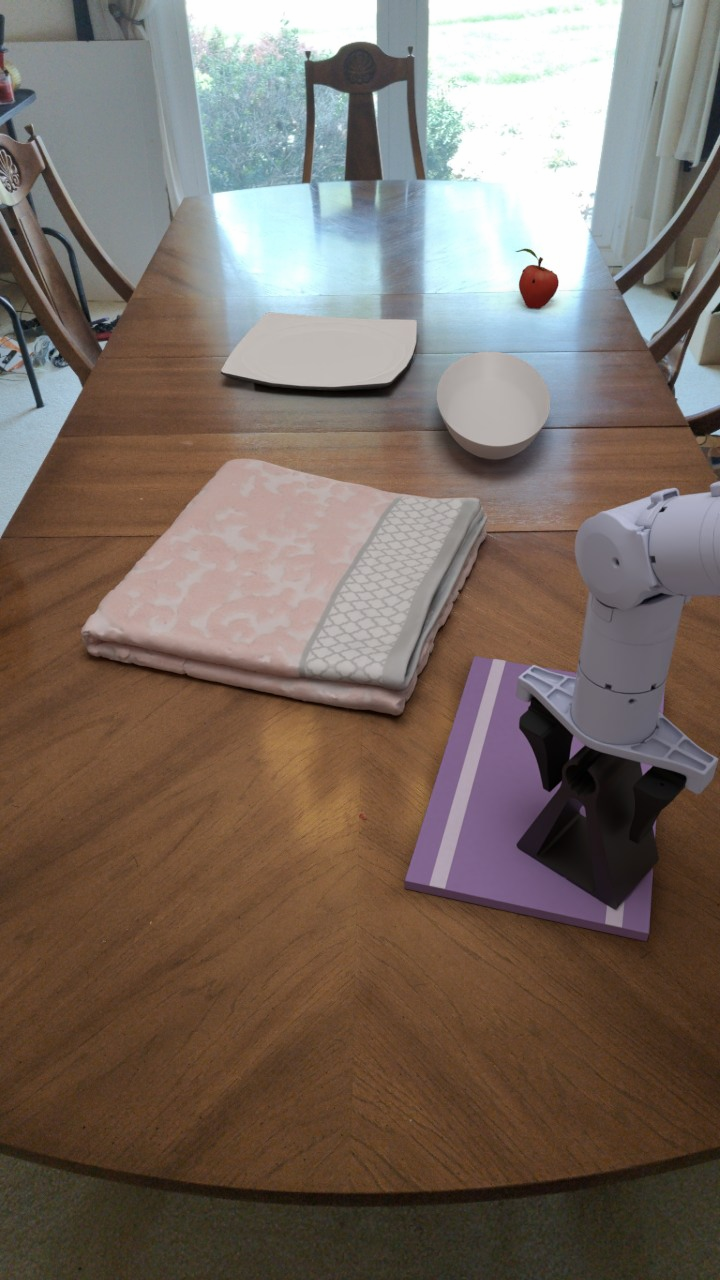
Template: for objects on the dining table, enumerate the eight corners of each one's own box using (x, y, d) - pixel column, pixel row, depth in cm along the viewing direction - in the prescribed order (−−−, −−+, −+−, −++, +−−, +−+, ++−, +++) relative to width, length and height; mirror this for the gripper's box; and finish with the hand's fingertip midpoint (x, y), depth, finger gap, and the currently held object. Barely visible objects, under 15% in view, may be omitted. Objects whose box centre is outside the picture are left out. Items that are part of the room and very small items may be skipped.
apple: (549, 299, 178) (555, 241, 171) (560, 312, 172) (566, 253, 166) (508, 301, 177) (512, 244, 171) (517, 314, 172) (522, 255, 165)
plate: (262, 324, 170) (261, 309, 168) (425, 333, 165) (426, 317, 164) (210, 392, 148) (208, 375, 146) (397, 404, 143) (397, 387, 142)
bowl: (436, 390, 147) (438, 350, 143) (537, 391, 146) (541, 351, 142) (433, 488, 124) (435, 444, 120) (554, 491, 122) (559, 447, 119)
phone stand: (658, 863, 75) (686, 750, 68) (616, 911, 72) (640, 797, 64) (559, 804, 80) (575, 693, 73) (515, 847, 77) (527, 734, 69)
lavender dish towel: (646, 942, 71) (649, 933, 70) (404, 888, 75) (404, 880, 74) (663, 694, 92) (665, 686, 91) (473, 663, 96) (474, 655, 95)
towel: (406, 730, 89) (406, 681, 85) (77, 659, 98) (65, 613, 94) (491, 531, 115) (494, 488, 112) (227, 489, 124) (222, 448, 121)
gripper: (755, 684, 62) (712, 827, 71) (563, 596, 70) (545, 734, 79) (702, 741, 58) (663, 886, 67) (504, 641, 66) (492, 782, 75)
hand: (595, 807), depth 73 cm, fingers open, 7 cm apart
